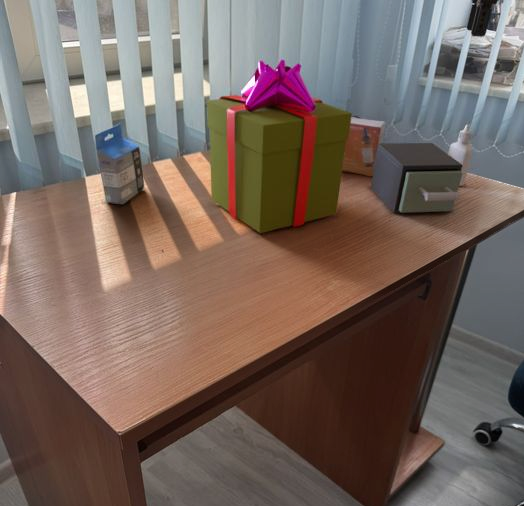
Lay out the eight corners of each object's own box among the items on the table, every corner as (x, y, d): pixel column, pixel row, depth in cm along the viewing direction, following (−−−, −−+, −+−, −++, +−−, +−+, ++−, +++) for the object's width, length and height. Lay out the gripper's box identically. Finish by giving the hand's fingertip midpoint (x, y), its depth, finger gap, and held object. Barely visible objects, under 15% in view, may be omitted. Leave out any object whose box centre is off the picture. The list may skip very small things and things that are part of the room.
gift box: (271, 182, 110) (277, 47, 95) (349, 213, 99) (370, 65, 83) (195, 206, 98) (188, 57, 83) (273, 244, 87) (282, 79, 72)
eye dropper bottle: (461, 179, 116) (476, 122, 109) (464, 187, 112) (480, 129, 105) (441, 177, 117) (455, 120, 110) (443, 185, 112) (458, 127, 105)
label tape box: (122, 205, 98) (113, 137, 90) (103, 202, 98) (93, 134, 91) (145, 189, 104) (138, 125, 97) (127, 186, 105) (119, 122, 98)
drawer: (463, 221, 95) (475, 182, 91) (410, 223, 94) (419, 183, 89) (425, 187, 109) (434, 151, 104) (378, 188, 107) (385, 152, 103)
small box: (337, 171, 117) (344, 121, 111) (344, 163, 122) (350, 116, 115) (372, 176, 115) (381, 127, 109) (377, 169, 120) (386, 120, 113)
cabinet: (450, 211, 101) (462, 164, 96) (393, 213, 99) (403, 165, 94) (422, 186, 112) (432, 142, 106) (370, 187, 110) (378, 143, 104)
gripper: (543, -99, 70) (504, 40, 80) (525, -91, 81) (493, 30, 91) (485, -101, 71) (454, 36, 81) (475, -93, 82) (449, 27, 92)
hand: (475, 33), depth 86 cm, fingers open, 8 cm apart
